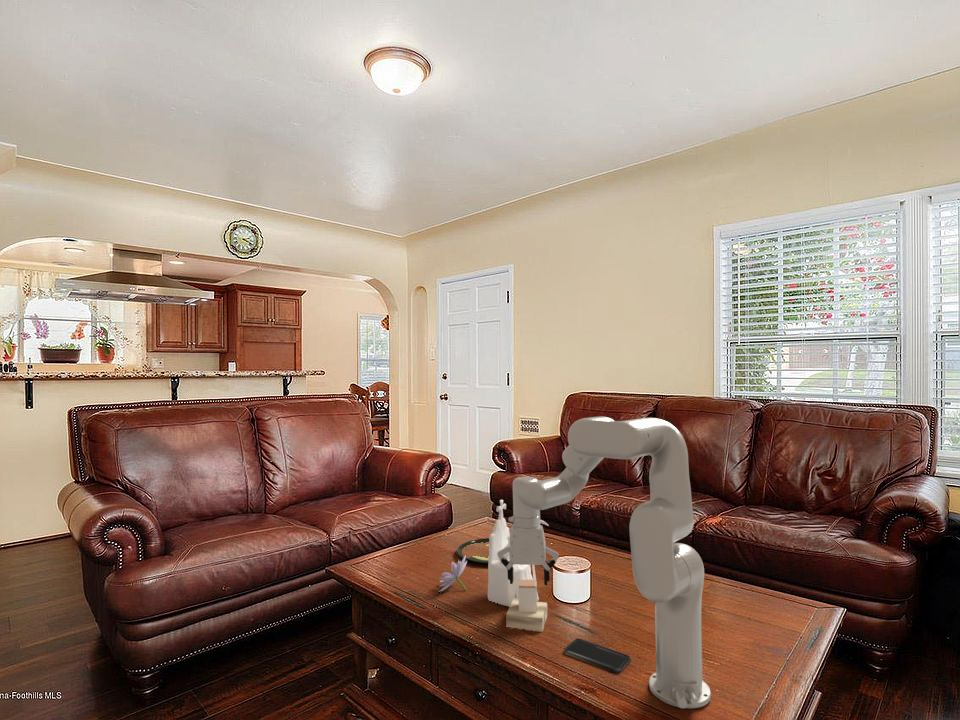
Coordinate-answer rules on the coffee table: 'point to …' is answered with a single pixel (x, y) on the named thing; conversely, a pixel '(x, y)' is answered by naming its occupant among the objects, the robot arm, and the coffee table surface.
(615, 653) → the phone
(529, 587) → the peach rectangular block
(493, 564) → the religious statue
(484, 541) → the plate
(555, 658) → the coffee table surface
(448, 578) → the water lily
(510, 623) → the block
